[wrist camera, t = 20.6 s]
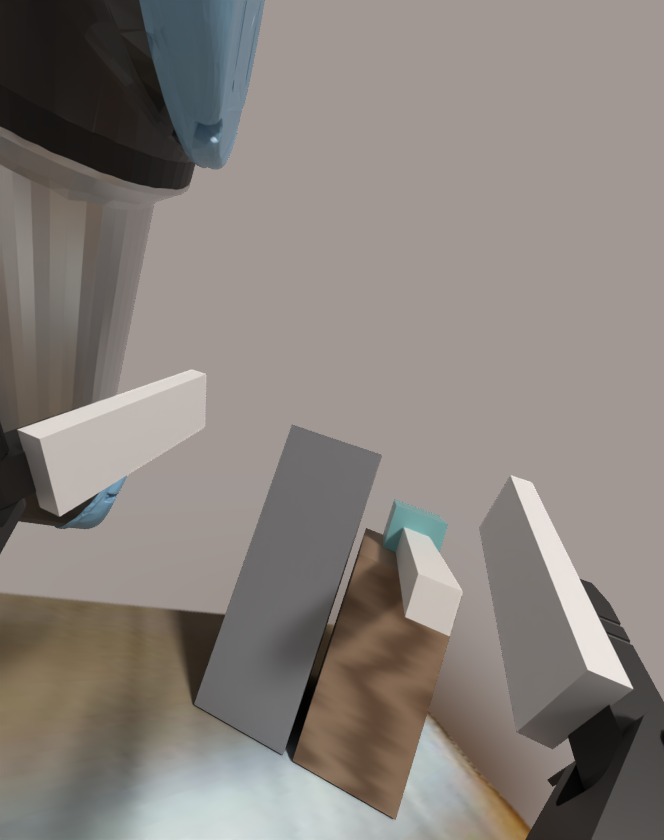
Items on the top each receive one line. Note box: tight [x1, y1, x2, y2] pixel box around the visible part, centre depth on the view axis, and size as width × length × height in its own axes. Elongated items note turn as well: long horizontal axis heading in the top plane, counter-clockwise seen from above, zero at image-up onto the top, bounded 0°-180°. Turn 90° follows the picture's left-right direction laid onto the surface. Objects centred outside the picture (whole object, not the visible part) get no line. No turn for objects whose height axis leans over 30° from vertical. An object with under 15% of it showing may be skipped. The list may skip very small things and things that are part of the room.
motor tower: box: [194, 425, 382, 755], centre depth 37 cm, size 10×12×30 cm
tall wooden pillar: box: [293, 528, 462, 820], centre depth 35 cm, size 10×12×20 cm
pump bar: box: [383, 500, 463, 636], centre depth 31 cm, size 6×21×5 cm, turn 170°
